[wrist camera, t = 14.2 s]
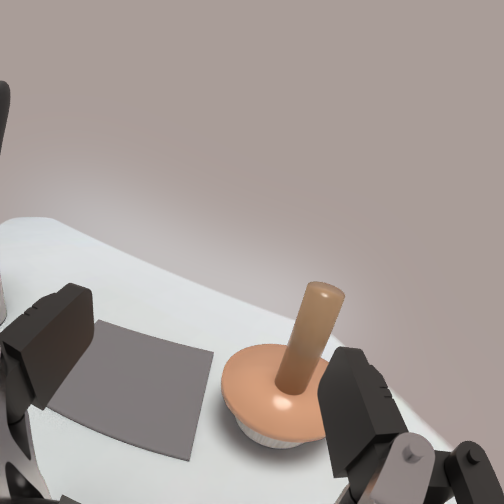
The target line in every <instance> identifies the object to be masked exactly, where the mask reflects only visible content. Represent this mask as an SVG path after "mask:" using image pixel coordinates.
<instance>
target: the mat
mask: <svg viewBox="0 0 504 504" xmlns="http://www.w3.org/2000/svg"><path fill="white" fill-rule="evenodd" d="M213 354H214V352H211V351H207V350H202V349H198V348H194V347H190V346H186V345H182V344H178V343H174V342H170V341H167V340H163V339H159V338H156V337H152V336H149V335H145V334H142V333H139V332H135V331H132V330H129V329H126V328H123V327H120V326H117V325H114V324H111V323H108V322H105V321H102V320H98V321H97V322H96V323H95V324H94V336H93V340H92V342H91V344H90V346H89V347H88V348H87V350H86V351H85V352H84V354H83V355H82V356H81V358H80V359H79V361H78V362H77V363H76V365H75V366H74V367H73V369H72V370H71V371H70V373H69V374H68V376H67V377H66V378H65V380H64V381H63V383H62V384H61V385H60V387H59V388H58V390H57V391H56V393H55V394H54V396H53V397H52V398H51V400H50V401H49V403H48V404H47V406H46V407H48V408H50V409H52V410H53V411H55V412H57V413H59V414H61V415H63V416H65V417H67V418H69V419H71V420H73V421H75V422H77V423H79V424H81V425H83V426H86V427H88V428H90V429H92V430H95V431H97V432H99V433H102V434H104V435H107V436H109V437H112V438H114V439H117V440H120V441H122V442H125V443H128V444H131V445H134V446H137V447H140V448H143V449H146V450H149V451H152V452H156V453H159V454H163V455H166V456H170V457H174V458H178V459H182V460H186V461H189V459H190V454H191V450H192V445H193V441H194V436H195V432H196V427H197V423H198V418H199V414H200V410H201V405H202V401H203V397H204V392H205V388H206V384H207V379H208V375H209V371H210V367H211V362H212V358H213Z"/></svg>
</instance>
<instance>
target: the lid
mask: <svg viewBox="0 0 504 504" xmlns="http://www.w3.org/2000/svg"><path fill="white" fill-rule="evenodd" d="M344 298H345V294H344V293H343V292H342V291H341V290H340V289H338V288H337V287H335V286H332V285H330V284H327V283H323V282H310V283H308V285H307V288H306V291H305V294H304V297H303V300H302V304H301V307H300V310H299V313H298V316H297V319H296V322H295V324H294V327H293V330H292V333H291V336H290V339H289V342H288V345H279V344H262V345H255V346H251V347H247V348H245V349H242V350H240V351H238V352H237V353H235V354H234V355H233V356H232V357H231V358H230V359H229V360H228V361H227V363H226V365H225V367H224V370H223V374H222V378H221V392H222V395H223V398H224V401H225V403H226V405H227V406H228V408H229V409H230V411H231V412H232V413H233V414H234V415H235V416H236V418H237V419H238V420H240V421H241V422H242V423H243V424H244V425H246V426H247V427H249V428H250V429H252V430H253V431H255V432H257V433H259V434H261V435H264V436H266V437H269V438H272V439H275V440H280V441H285V442H295V443H303V442H311V441H316V440H320V439H322V438H325V437H326V435H325V431H324V426H323V421H322V416H321V412H320V407H319V402H318V397H317V390H318V385H319V382H320V379H321V377H322V375H323V374H324V372H325V370H326V368H327V366H328V364H329V362H327V361H326V360H324V359H322V358H321V355H322V353H323V351H324V348H325V346H326V344H327V341H328V339H329V337H330V334H331V331H332V329H333V327H334V324H335V322H336V319H337V317H338V314H339V312H340V309H341V306H342V304H343V301H344Z"/></svg>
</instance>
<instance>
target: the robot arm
mask: <svg viewBox="0 0 504 504" xmlns="http://www.w3.org/2000/svg"><path fill="white" fill-rule="evenodd" d="M9 106H10V88H9V85H8V84H7V83H6V82H5V81H0V153H1V147H2V141H3V136H4V131H5V127H6V122H7V117H8V112H9ZM6 315H7V310H6V305H5V300H4V295H3V289H2V282H1V275H0V324H1V323H2V322H3V321H4V319H5V318H6ZM93 336H94V317H93V300H92V292H91V290H90V289H88V288H85V287H82V286H79V285H76V284H73V283H68V284H67V285H66V286H64V287H63V288H62V289H61V290H59V291H58V292H57V293H52V294H50V295H47V296H45V297H42V298H41V299H39V300H38V301H37V302H36V303H34V304H33V305H32V307H30V308H28V309H27V310H26V311H25V312H24V314H21V315H20V316H19V317H18V318H17V319H15V320H14V321H13V322H12V323H11V324H10V325H9V326H7V327H6V328H5V329H4V330H3V331H2V332H1V333H0V504H81V503H78V502H76V501H74V500H72V499H70V498H68V497H66V496H64V495H62V496H61V499H60V501H57V500H52V499H51V496H50V493H49V490H48V487H47V485H46V483H45V480H44V478H43V476H42V475H41V473H40V470H39V468H38V465H37V461H36V456H35V451H34V446H33V441H32V435H31V428H30V421H29V414H28V411H27V409H28V407H29V406H30V404H32V405H34V406H36V407H37V408H39V409H41V410H44V409H45V407H46V406H47V404H48V403H49V401H50V400H51V398H52V397H53V396H54V394H55V393H56V391H57V390H58V388H59V387H60V385H61V384H62V383H63V381H64V380H65V378H66V377H67V376H68V374H69V373H70V371H71V370H72V369H73V367H74V366H75V365H76V363H77V362H78V361H79V359H80V358H81V356H82V355H83V354H84V352H85V351H86V350H87V348H88V347H89V346H90V344H91V342H92V340H93ZM387 388H388V386H387V384H386V382H385V380H384V378H383V376H382V375H381V374H380V373H379V372H378V371H377V370H376V369H375V367H374V366H373V365H369V363H368V361H367V359H366V357H365V355H364V353H363V351H362V350H361V349H357V348H348V347H338V348H337V349H336V350H335V352H334V354H333V356H332V358H331V360H330V362H329V364H328V366H327V368H326V370H325V372H324V374H323V375H322V377H321V379H320V382H319V385H318V390H317V397H318V402H319V407H320V412H321V416H322V421H323V426H324V431H325V435H326V440H327V445H328V450H329V455H330V460H331V466H332V471H333V476H334V478H343V477H348V480H349V484H348V485H346V487H345V488H344V489H343V491H342V493H341V494H340V496H339V497H338V499H337V500H336V502H335V503H334V504H444V503H445V502H446V501H448V500H449V499H451V498H452V497H454V496H455V499H456V502H457V504H504V493H503V491H502V488H501V486H500V484H499V481H498V479H497V477H496V474H495V472H494V470H493V468H492V466H491V463H490V461H489V459H488V457H487V455H486V453H485V451H484V450H483V449H482V448H481V446H479V445H478V444H476V443H475V442H472V441H465V442H462V443H460V444H459V445H458V447H456V448H455V449H454V450H453V451H452V452H445V451H436V450H434V449H433V447H432V445H431V444H430V442H429V441H428V440H427V439H425V438H424V437H423V436H421V435H419V434H416V433H409V431H408V429H407V427H406V425H405V422H404V420H403V418H402V416H401V414H400V411H399V409H398V407H397V405H396V403H395V401H394V399H392V394H391V392H390V390H389V389H387Z"/></svg>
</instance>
